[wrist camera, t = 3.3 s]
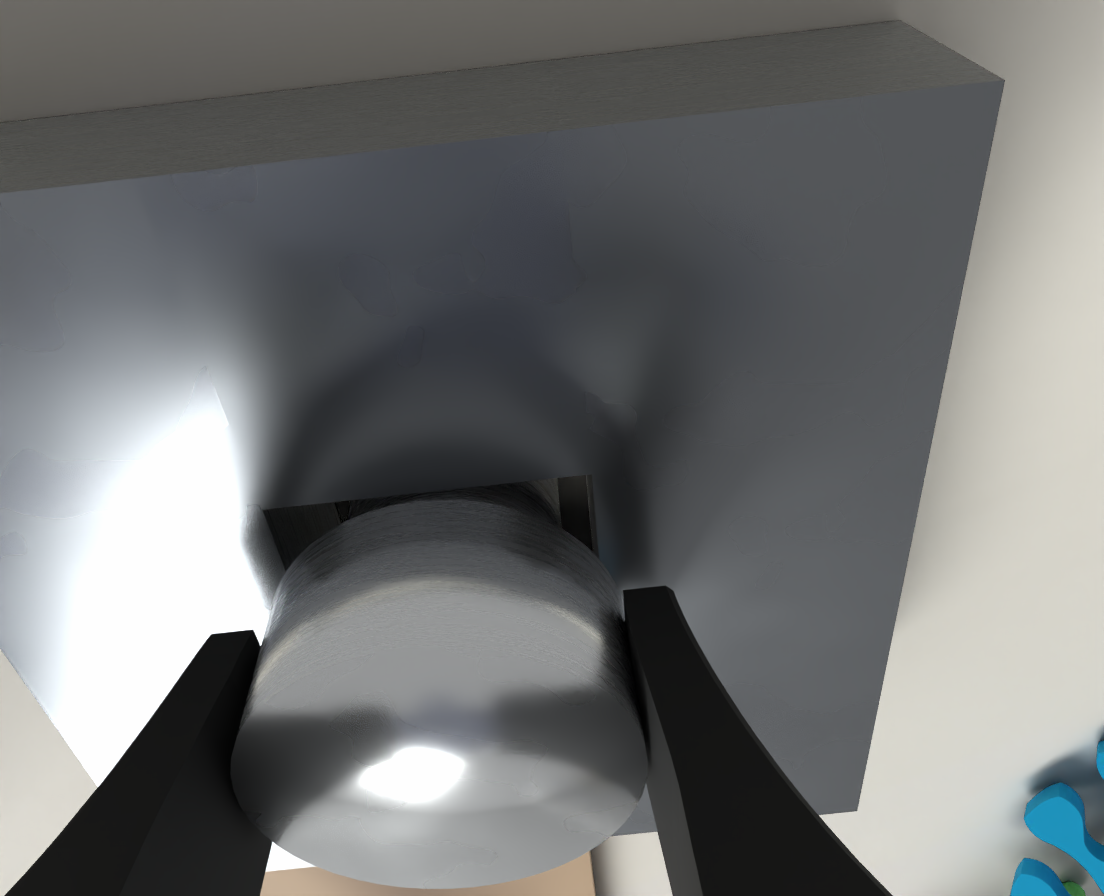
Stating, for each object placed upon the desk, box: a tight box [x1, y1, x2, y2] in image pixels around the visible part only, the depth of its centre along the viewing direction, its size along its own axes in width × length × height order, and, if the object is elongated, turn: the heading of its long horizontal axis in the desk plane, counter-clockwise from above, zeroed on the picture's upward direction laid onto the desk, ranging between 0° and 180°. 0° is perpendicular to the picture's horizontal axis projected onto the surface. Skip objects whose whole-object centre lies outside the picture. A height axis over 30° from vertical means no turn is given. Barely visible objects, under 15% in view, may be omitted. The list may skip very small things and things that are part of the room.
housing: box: [0, 20, 1005, 871], centre depth 15 cm, size 14×14×3 cm
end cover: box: [230, 478, 648, 889], centre depth 14 cm, size 5×5×6 cm
